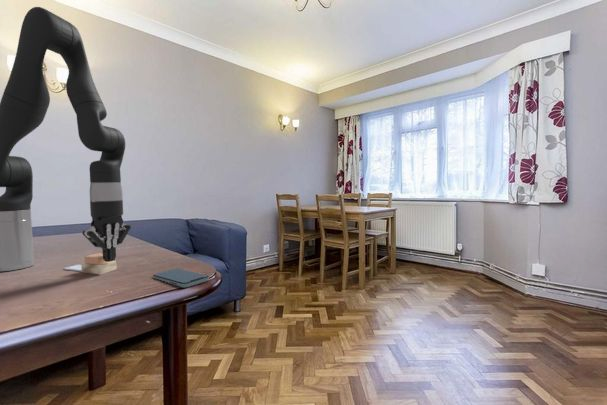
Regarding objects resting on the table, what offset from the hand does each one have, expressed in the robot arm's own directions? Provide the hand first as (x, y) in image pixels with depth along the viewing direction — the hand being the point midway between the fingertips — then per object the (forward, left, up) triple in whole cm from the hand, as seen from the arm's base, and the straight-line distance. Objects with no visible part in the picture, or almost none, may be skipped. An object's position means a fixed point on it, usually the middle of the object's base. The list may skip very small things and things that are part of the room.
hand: (109, 260), depth 82 cm
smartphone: (+23, +1, -4) cm, 24 cm away
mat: (-12, 0, -3) cm, 12 cm away
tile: (-4, 0, -1) cm, 4 cm away
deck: (-4, 0, -3) cm, 5 cm away
